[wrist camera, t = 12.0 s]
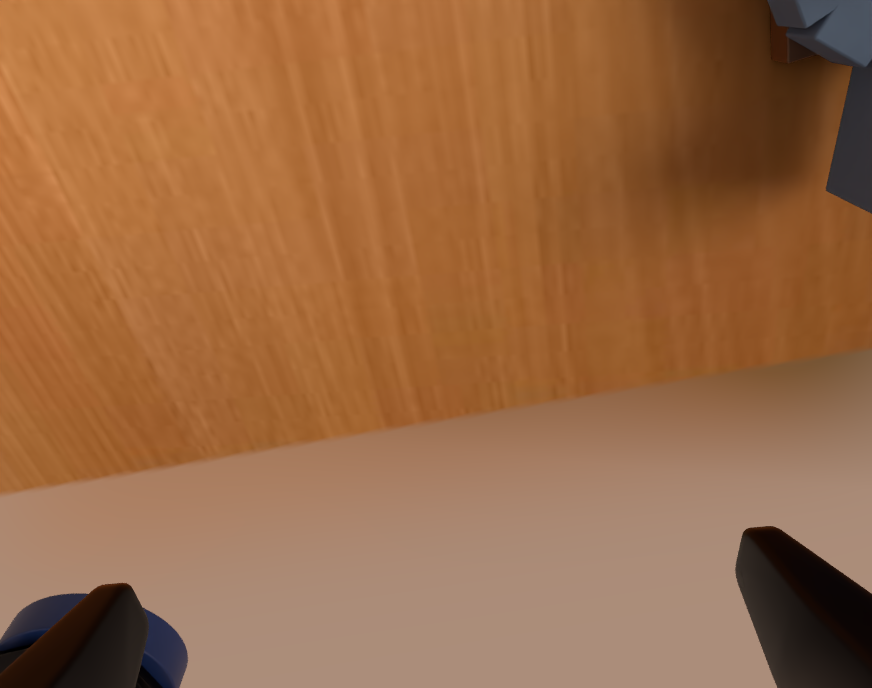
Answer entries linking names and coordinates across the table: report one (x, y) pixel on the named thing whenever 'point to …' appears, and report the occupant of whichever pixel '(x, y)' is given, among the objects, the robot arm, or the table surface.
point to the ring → (868, 88)
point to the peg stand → (785, 45)
